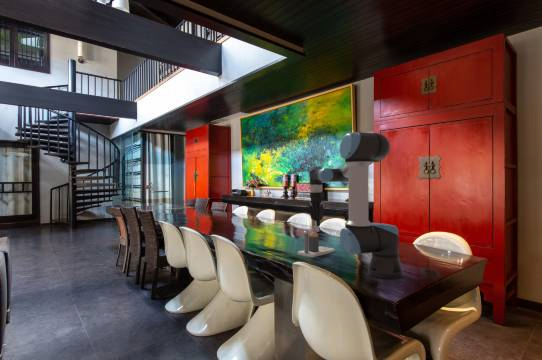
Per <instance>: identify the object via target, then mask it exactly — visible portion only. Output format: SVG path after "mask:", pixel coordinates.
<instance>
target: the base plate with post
mask: <svg viewBox="0 0 542 360" xmlns="http://www.w3.org/2000/svg"><path fill="white" fill-rule="evenodd" d="M303 240H304V241H303V242H304V243H303V244H304V245H303V249H304V250H299V251H297V255H298V256H303V257H308V258H311V259H314V258H315V257H319V256H323V255H328V254H330V253H334V252H336V248H332V247H326V246H322V245H321V246H319V251H318V252H310V251H309V234H303Z"/></svg>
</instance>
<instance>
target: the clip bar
mask: <svg viewBox="0 0 542 360" xmlns="http://www.w3.org/2000/svg"><path fill="white" fill-rule="evenodd" d="M319 231H320V227H319ZM314 232H315V228H312V229H308V230H303V232H302V234H303V235H304V234H308V235H310V233H311V234H312V233H314Z"/></svg>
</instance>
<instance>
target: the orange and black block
mask: <svg viewBox="0 0 542 360" xmlns="http://www.w3.org/2000/svg"><path fill="white" fill-rule="evenodd" d="M308 246H309V251H310V252H318V251H319V234H318V233H311V234H310V233H309V234H308Z"/></svg>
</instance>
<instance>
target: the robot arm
mask: <svg viewBox="0 0 542 360" xmlns="http://www.w3.org/2000/svg"><path fill="white" fill-rule="evenodd" d="M390 151H391V142H390V141H389V139H388V138H387V137H386V136H385V135H384V134H382V133H378V132H363V131H361V132H360V131H353V132H348V133H346V134H345V135H344V136H343V137H342V139H341V141H340V144H339V154H340V157H341V158H342V159H344V164H345V165H344V166H343V167H341V168H327V167H322V166H320V165H317V166H316V165H315V166H310V167H309V171H308V172H309V173H308V174H309V199H310V202H309V203H307V206H308V210H309V215H310V219H311V220H313V225H314V229H315V231H314V232H316V233H317V232H320V230H319V228H320V227H321V221H323V219H324V212H325V208H326V205H327V204H326V203H323V198H324V197H323V196H324V195H323V183H330V182H331V183H332V182H334V183H335V182H336V183H337V182H341V183H342V182H345V183H347V182H348V220H346V221H345V223H344V227H343V228H341V229H340V231H339V240H340V244H341V247H342V248H343V250H344V251H345V252H346V253H348V254H349V255H362V254H371V257H370V262H369V264H368V267H367V268H368V269H367V272H368V274H369V275H370V276H372V277H374V278H379V279H385V280H395V279H401V278H403V277H404V269H403V266H402V263H401V260H400V255H399V254H400V253H399V252H400V251H399V240H400V239H399V236H400V234H399V229H398V227H397V226H396V225H393V224H389V223H388V224H387V223H383V222H382V223H381V222H380V223H379V222H371V221H370V220H369V166H371V165H372V164H374V163H380V162H381V161H383V160H384V159H385V158H386V157H387V156H388V155H389V154H390Z"/></svg>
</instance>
